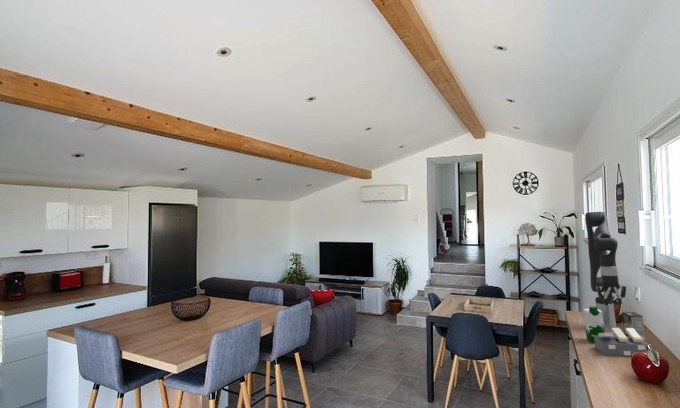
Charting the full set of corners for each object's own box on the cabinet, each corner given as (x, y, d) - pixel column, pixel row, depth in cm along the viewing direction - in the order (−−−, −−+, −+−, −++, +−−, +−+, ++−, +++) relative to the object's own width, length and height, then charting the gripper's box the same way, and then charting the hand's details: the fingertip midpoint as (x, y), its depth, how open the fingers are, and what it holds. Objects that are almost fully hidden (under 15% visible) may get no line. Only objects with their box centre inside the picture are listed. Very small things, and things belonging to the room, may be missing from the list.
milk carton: (589, 343, 212) (585, 308, 213) (584, 338, 220) (581, 304, 221) (607, 344, 209) (603, 308, 210) (602, 339, 217) (598, 304, 218)
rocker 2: (611, 330, 202) (611, 327, 202) (619, 330, 201) (619, 327, 201) (620, 342, 193) (620, 338, 193) (628, 342, 192) (628, 338, 192)
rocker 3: (625, 330, 201) (625, 327, 200) (632, 330, 200) (633, 327, 199) (634, 342, 191) (634, 339, 191) (642, 342, 190) (642, 339, 190)
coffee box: (624, 340, 214) (620, 311, 215) (636, 339, 212) (633, 311, 213) (633, 345, 205) (629, 315, 206) (646, 345, 203) (643, 315, 204)
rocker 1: (598, 336, 203) (598, 332, 204) (606, 336, 202) (605, 333, 203) (605, 336, 194) (604, 332, 195) (613, 336, 193) (612, 332, 194)
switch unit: (595, 347, 205) (593, 333, 206) (637, 347, 200) (635, 334, 201) (605, 355, 193) (603, 341, 193) (650, 356, 187) (648, 341, 188)
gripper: (621, 272, 205) (624, 303, 204) (591, 273, 209) (595, 304, 208) (627, 274, 198) (631, 306, 197) (597, 275, 202) (600, 307, 200)
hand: (612, 305), depth 202 cm, fingers open, 5 cm apart
